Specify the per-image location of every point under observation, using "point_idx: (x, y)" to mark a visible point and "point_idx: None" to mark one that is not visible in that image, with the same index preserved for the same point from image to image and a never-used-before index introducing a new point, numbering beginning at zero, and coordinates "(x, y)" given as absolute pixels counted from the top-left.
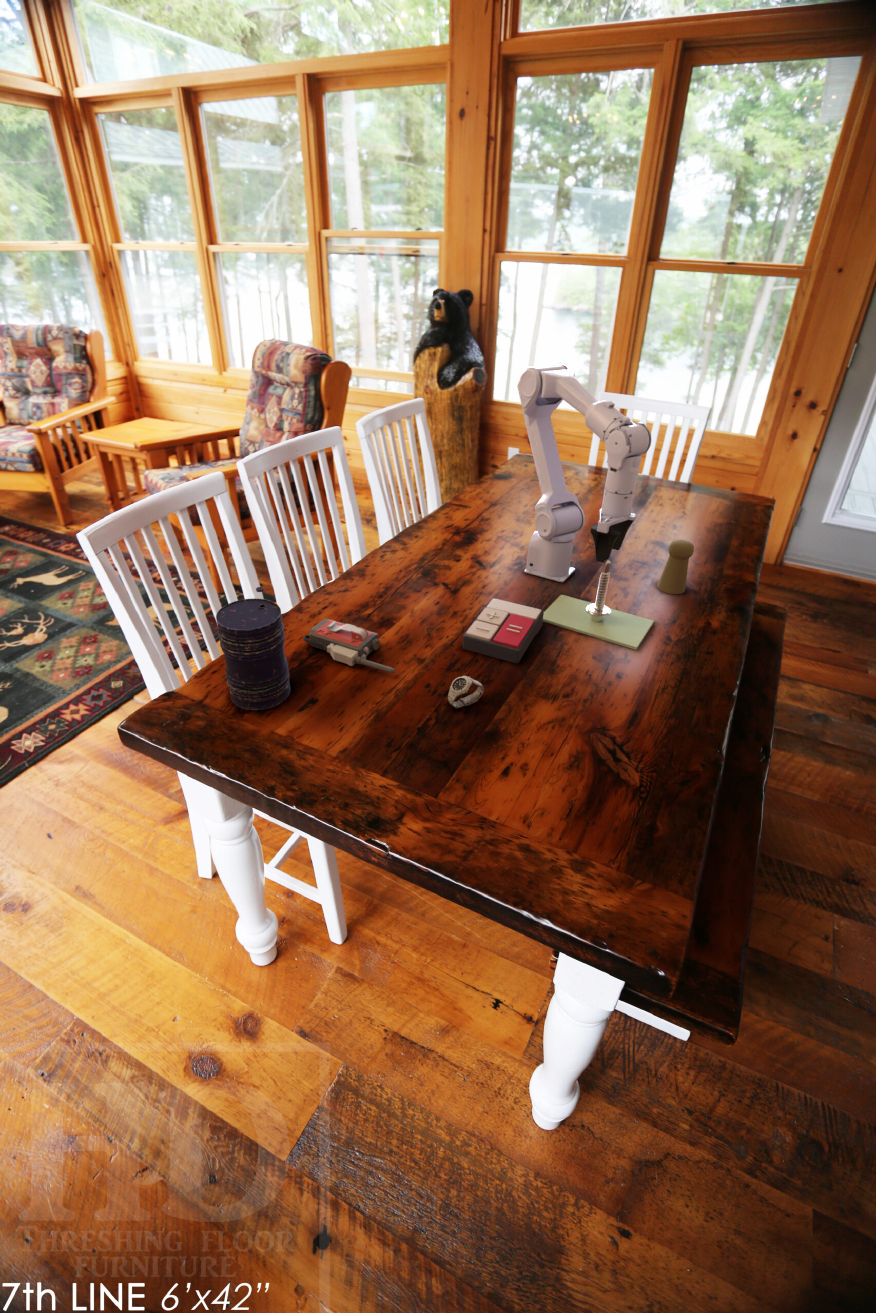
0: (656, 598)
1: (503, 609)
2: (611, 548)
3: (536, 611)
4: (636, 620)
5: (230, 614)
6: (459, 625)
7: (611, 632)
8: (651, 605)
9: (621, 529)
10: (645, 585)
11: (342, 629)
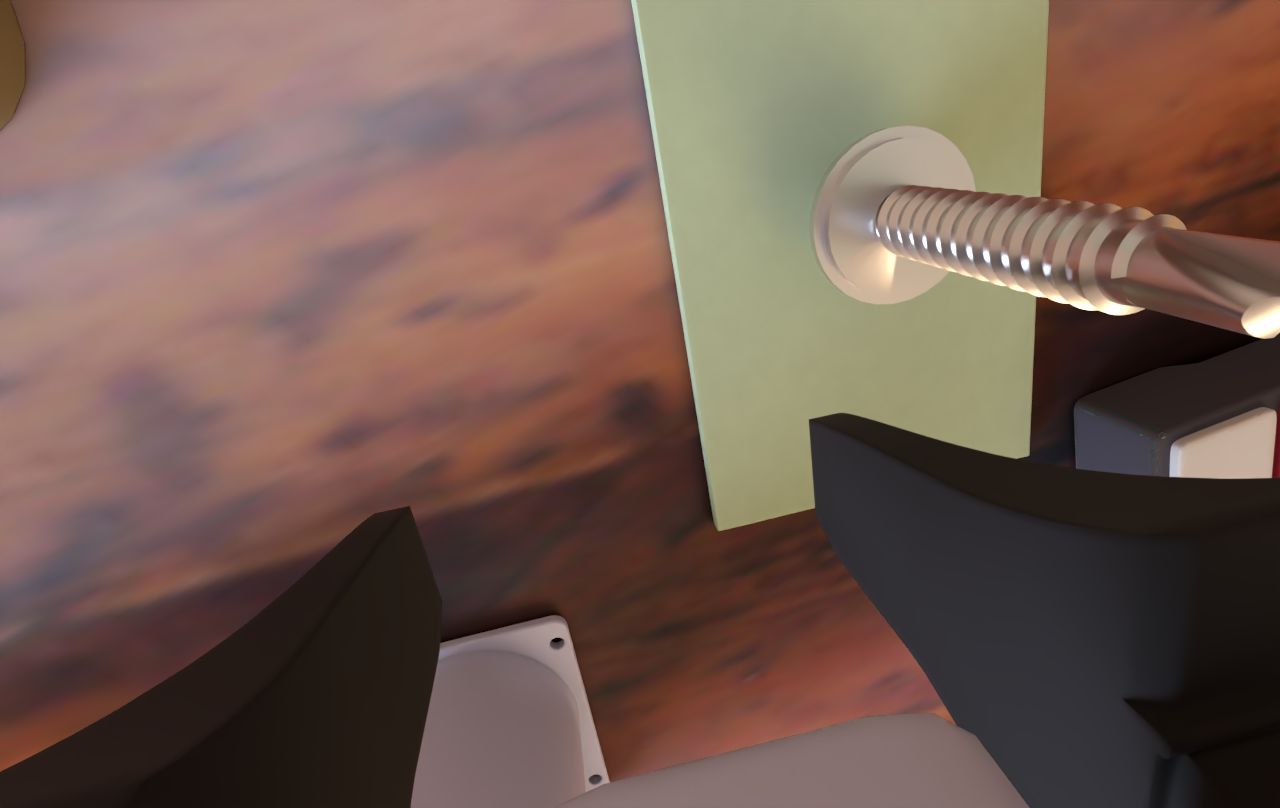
0: (200, 40)
1: None
2: (975, 459)
3: (1209, 453)
4: None
5: None
6: None
7: (965, 42)
8: (350, 16)
9: (333, 733)
10: (75, 226)
11: None
